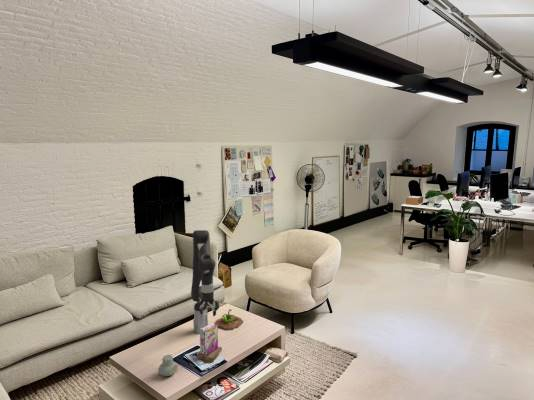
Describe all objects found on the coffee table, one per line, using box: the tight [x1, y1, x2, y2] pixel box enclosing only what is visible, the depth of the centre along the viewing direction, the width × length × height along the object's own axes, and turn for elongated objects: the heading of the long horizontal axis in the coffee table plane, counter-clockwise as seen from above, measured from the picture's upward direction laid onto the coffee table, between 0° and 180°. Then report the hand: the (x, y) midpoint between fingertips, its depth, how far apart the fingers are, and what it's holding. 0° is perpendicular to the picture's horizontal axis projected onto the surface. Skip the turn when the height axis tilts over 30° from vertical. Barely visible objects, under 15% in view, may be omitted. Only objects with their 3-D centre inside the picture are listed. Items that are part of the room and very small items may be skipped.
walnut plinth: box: [196, 346, 223, 363], centre depth 240 cm, size 11×13×3 cm
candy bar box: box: [199, 322, 219, 355], centre depth 238 cm, size 11×5×16 cm, turn 139°
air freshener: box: [158, 354, 179, 377], centre depth 221 cm, size 11×8×10 cm
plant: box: [214, 308, 244, 331], centre depth 281 cm, size 20×20×11 cm
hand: (208, 314), depth 236 cm, fingers open, 8 cm apart
